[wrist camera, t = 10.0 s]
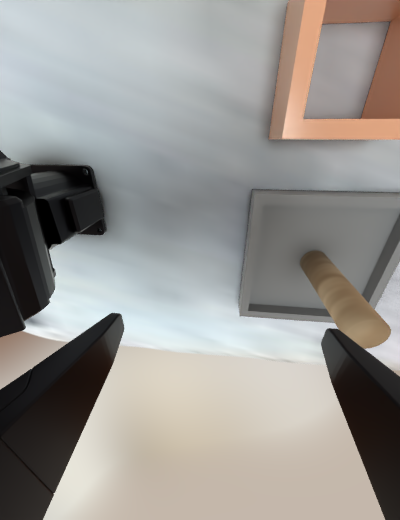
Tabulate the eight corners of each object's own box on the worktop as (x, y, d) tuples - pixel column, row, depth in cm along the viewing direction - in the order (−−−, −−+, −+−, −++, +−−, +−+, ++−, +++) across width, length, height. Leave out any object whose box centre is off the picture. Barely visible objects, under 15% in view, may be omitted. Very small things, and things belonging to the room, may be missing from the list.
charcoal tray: (238, 303, 25) (239, 316, 23) (252, 189, 19) (255, 194, 17) (355, 311, 24) (365, 325, 22) (411, 193, 18) (432, 198, 16)
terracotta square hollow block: (268, 139, 17) (281, 138, 13) (287, 2, 13) (314, -56, 9) (368, 139, 16) (414, 139, 12) (416, -4, 13) (502, -69, 9)
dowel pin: (297, 271, 21) (340, 346, 13) (303, 249, 20) (353, 318, 12) (322, 272, 21) (380, 350, 13) (329, 251, 20) (398, 321, 12)
